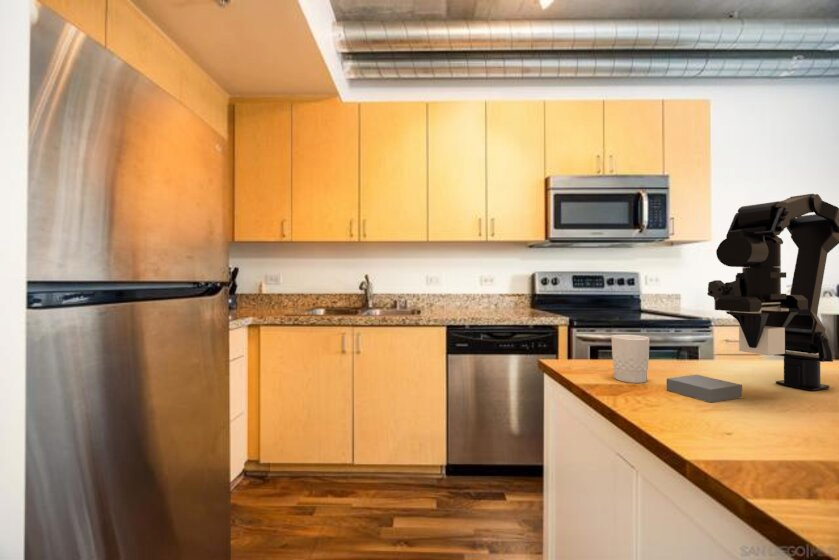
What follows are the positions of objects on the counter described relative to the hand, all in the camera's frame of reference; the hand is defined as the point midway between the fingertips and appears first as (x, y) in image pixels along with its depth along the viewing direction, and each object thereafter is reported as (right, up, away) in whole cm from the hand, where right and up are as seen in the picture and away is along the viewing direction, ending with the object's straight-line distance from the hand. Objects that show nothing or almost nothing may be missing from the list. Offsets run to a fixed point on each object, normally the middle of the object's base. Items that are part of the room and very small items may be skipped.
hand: (761, 346), depth 78 cm
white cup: (-18, -10, +15) cm, 25 cm away
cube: (0, -1, 0) cm, 1 cm away
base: (-9, -10, +3) cm, 14 cm away
